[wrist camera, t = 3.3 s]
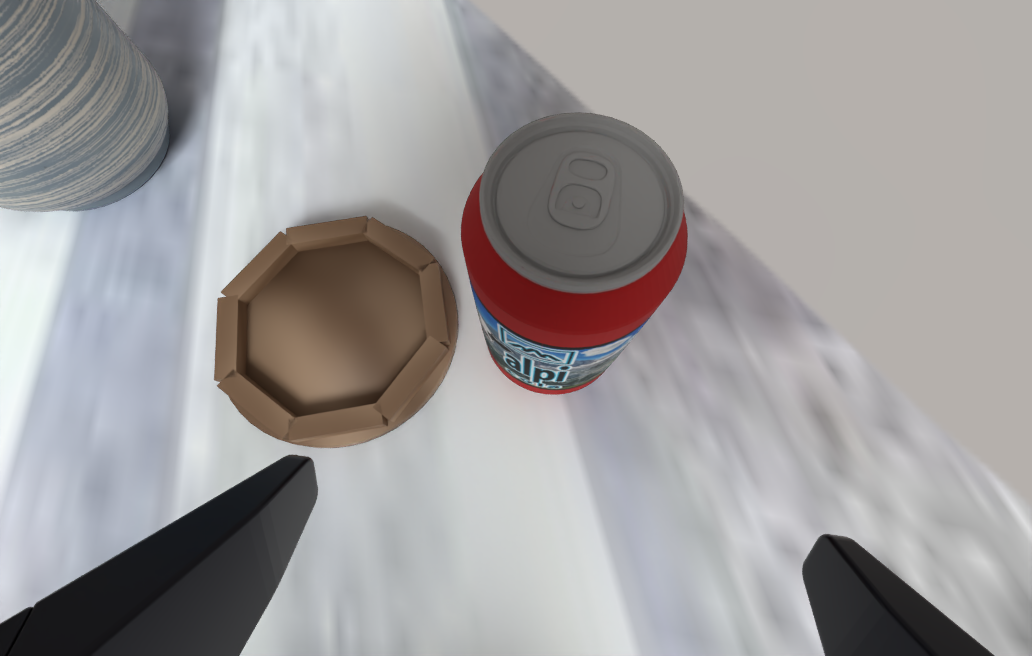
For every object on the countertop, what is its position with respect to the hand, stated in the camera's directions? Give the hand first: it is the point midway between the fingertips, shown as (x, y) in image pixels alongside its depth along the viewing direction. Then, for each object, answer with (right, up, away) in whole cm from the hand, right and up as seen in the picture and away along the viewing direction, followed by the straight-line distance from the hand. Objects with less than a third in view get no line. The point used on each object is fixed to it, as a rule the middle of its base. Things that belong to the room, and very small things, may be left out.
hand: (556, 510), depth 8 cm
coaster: (-10, +3, +15) cm, 18 cm away
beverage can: (+1, +3, +15) cm, 15 cm away
